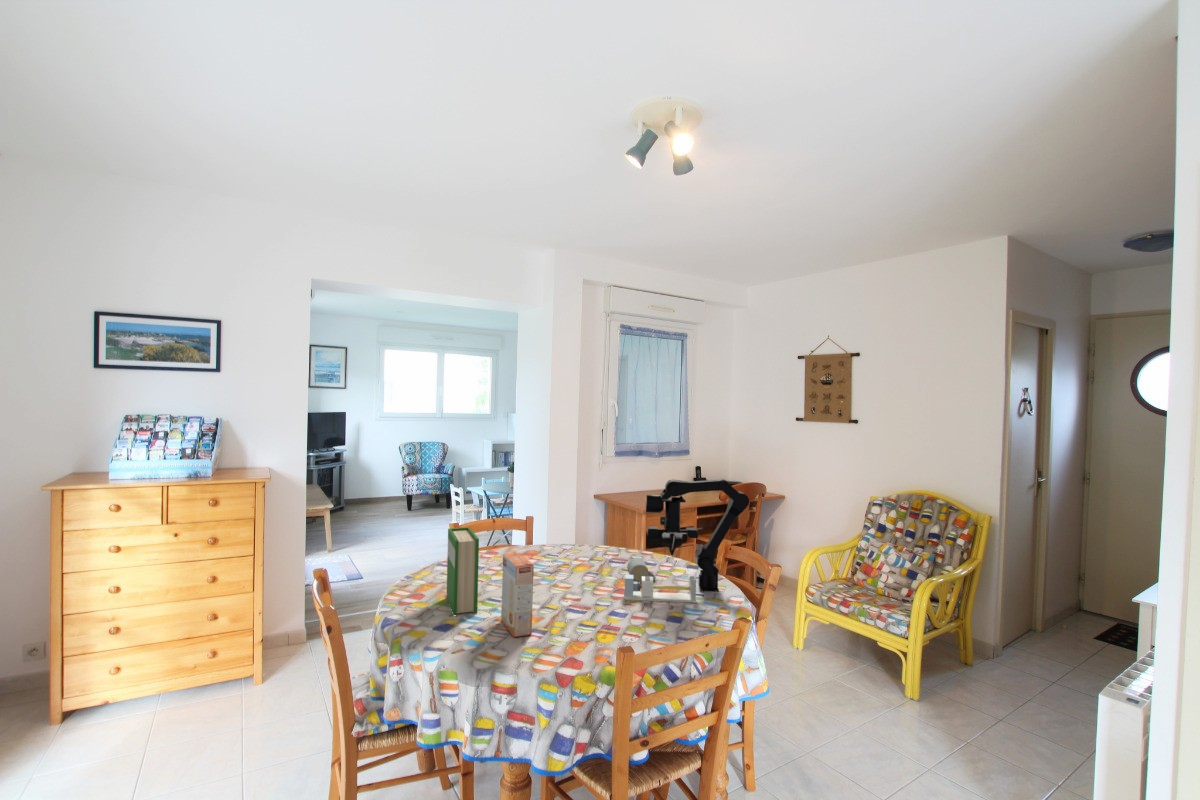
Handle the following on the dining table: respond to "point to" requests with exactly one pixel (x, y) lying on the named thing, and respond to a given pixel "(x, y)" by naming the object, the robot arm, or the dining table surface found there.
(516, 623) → the cracker box
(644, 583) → the marker sleeve
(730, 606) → the dining table surface
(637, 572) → the ceramic mug
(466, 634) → the dining table surface
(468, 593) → the hardback book
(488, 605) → the dining table surface
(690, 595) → the cord rig
